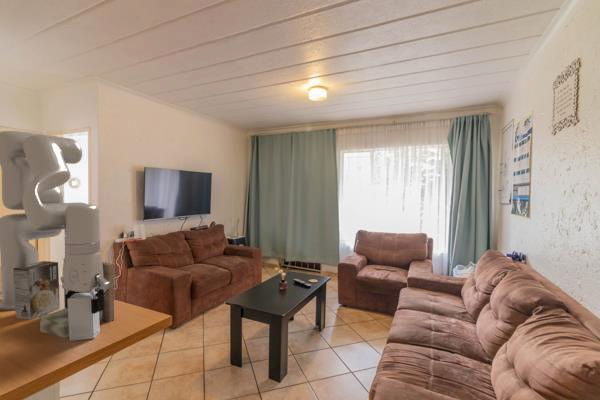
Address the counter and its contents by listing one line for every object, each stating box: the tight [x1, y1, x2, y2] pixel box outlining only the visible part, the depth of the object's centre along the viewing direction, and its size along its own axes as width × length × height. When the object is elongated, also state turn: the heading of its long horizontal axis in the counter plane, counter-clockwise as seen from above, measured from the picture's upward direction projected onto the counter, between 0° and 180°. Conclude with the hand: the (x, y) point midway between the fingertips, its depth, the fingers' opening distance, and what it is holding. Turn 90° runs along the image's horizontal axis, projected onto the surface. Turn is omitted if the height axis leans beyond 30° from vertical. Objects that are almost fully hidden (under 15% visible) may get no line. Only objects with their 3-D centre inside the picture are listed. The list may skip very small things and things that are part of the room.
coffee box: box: [13, 260, 61, 321], centre depth 94 cm, size 9×6×16 cm
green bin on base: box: [39, 261, 115, 338], centre depth 88 cm, size 20×12×18 cm, turn 72°
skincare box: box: [67, 292, 101, 342], centre depth 80 cm, size 6×4×12 cm
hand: (85, 309), depth 81 cm, fingers open, 9 cm apart
